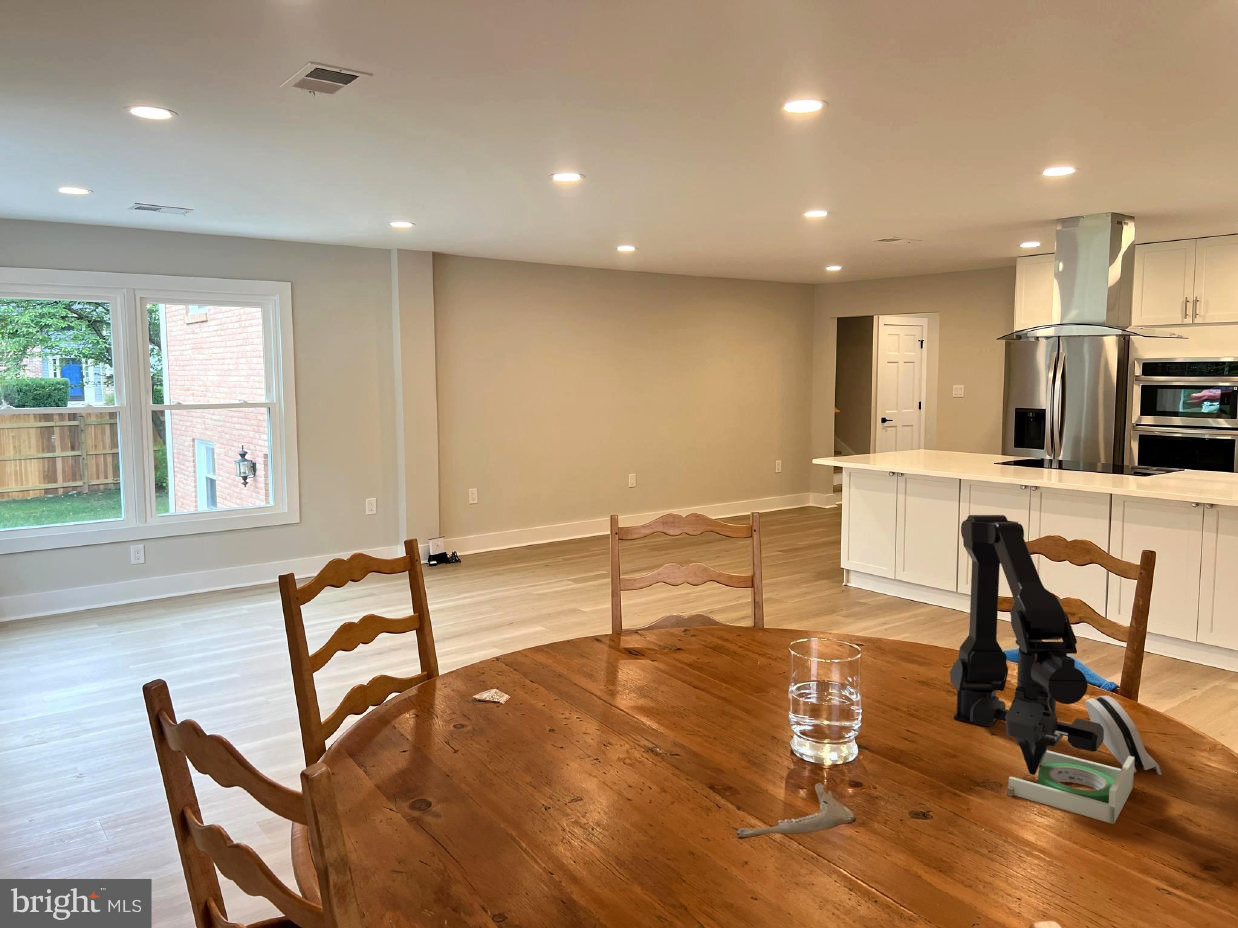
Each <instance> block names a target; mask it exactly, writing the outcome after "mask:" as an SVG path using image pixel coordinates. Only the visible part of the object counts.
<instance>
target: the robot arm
mask: <svg viewBox="0 0 1238 928" xmlns="http://www.w3.org/2000/svg"><path fill="white" fill-rule="evenodd" d="M960 533H961V534H960V535H961V537H962V540H963V543H962V544H963V547H964V549H965V551H966V553H967V554H968V555H969V557H970V559H971V579H970V583H971V584H970V602H969V603H970V605H969V606H970V607H969V610H970V611H969V628H968V629H969V632H968V636H966V638H965V640H963V642H962V643H961V645H960V646H959V651H958V658H957V659H956V661H955V662H954V664H953V666H952V667H951V669H950V671H949V678H950V684H952V686H954V688H956V691H957V692H956V694H957V695H956V696H957V697H956V713H955V714H953V719H955V720H959V721H963V722H966V723H971V724H975V725H979V726H982V727H990V726H991V725H992V724H994V723H995V722H996V720H1000V721H1003V722H1005V725H1006V726H1005V727H1006V734H1007V735H1008V736H1009V737H1011V738H1013V739H1014V740H1015V741H1016V742H1017V744H1018V746H1019V747H1020V751H1021V753H1022V755H1023V759H1024V761H1025V765H1026V767H1027V770H1028V773H1029V774H1030V775H1032V776H1036V774H1038V773H1037V772H1038V771H1039V769H1040V766H1041V765H1040V764H1041V762H1042V760H1043V757H1044V755H1045V753H1046V751H1047V750H1048V749H1049V747H1055V746H1057V745H1058V743H1059V742H1060V741H1061V740H1062V739H1063V737H1067V741H1066V742H1068V743H1069V745H1071V747H1072V748H1075V749H1079V750H1084V751H1088V752H1095V753H1096V752H1097V751H1098V750H1099V748H1100V746H1102V743H1103V741H1104V729H1103V727H1102V726H1101V724H1099V723H1095V722H1091V720H1087V719H1086V720H1085V719H1081V718H1077V717H1076V718H1075V719H1074V720H1073V721H1072V723H1066V722H1062V721H1060V720H1059V721H1058V717H1057V703H1059V704H1063V705H1071V704H1076V703H1077V702H1079V701H1081V700H1082V699H1083V698H1084V697H1085V696H1086V694H1087V691H1088V687H1089V684H1088V681H1087V678H1086V676H1085V674H1084V673H1083V672H1082V671H1081V670H1080V669H1079V668H1077V667H1076V666H1075V664H1076V661H1075V659H1074V658H1073V657H1071V656H1068V655H1071V654H1074V655H1075V654H1076V655H1077V653H1078V650H1077V643H1078V641H1077V638H1076V636H1075V632H1074V629H1073V627H1072V624H1071V622H1070V619H1069V616H1068V614H1067V612H1066V611H1065V610H1064V607H1063V606H1062V604H1061V602H1060V600H1059V599H1058V597H1057V596H1056V595H1055V594H1054V593H1052V591H1050V590H1048V589H1046V588H1045V586H1044V584H1043V582H1042V581H1041V578H1040V575H1039V572H1038V570H1037V568H1036V565H1035V563H1034V560H1033V558H1032V555H1031V553H1030V550H1029V547H1028V545H1027V543H1026V541H1025V530H1024V527H1023V525H1022V524H1021V523H1019V521H1015V520H1014V521H1013V520H1008V518H1007V516H1006V515H1004V514H969V515H968V516H967V517H966V519H964V520H963V521H962V523H961V525H960ZM1000 566H1001V568H1002V571H1003V573H1004V576H1005V578H1006V581H1007V585H1008V587H1009V590H1010V592H1011V596H1012V599H1013V602H1012V606H1011V608H1010V612H1009V614H1010V624H1011V625H1010V626H1011V629H1012V631H1013V633H1014V636H1015V638H1016V639H1015V644H1016V645H1017V646H1018V651H1017V652H1018V655H1017V657H1018V658H1017V677H1016V678H1017V679H1016V680H1017V681H1016V687H1015V692H1014V697H1013V700H1012V702H1011V704H1010V707H1009V708H1008V709H1006V703H1005V701H1002V700H1000V698H999V696H997V691H1000V692H1004V691H1005V687H1006V684H1007V680H1008V674H1009V666H1008V663H1007V659H1008V658H1007V654H1006V652H1005V651H1004V650H1003V649H1002V647H1001V646H1000V644H999V643H998V640H997V638H998V637H997V634H998V633H997V632H998V617H999V616H998V613H999V587H1000V586H999V585H1000V570H1001V569H1000ZM1059 640H1062V641H1059Z"/></svg>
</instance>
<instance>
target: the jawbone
mask: <svg viewBox="0 0 1238 928" xmlns="http://www.w3.org/2000/svg"><path fill="white" fill-rule="evenodd" d="M814 786H815V787H814V789H815V792H816V795H817V798H818V802H819V807H820V808H819V809H820V810H819V813H817V812H815V813H811V814H809V815H806V816H802V817H798V818H796V819H794V818H792V819H784V820H782V819H780V820H778V821H777V822H778V825H776V826H772V827H771V826H770V827H758V828H757V827H755V828H750V827H748V828H747V827H746V828H743V827H740V828H739V829H738V830H737V831H736V834H737V835H736V836H737V838H739V837H740V838H751V837H755V836H759V835H766V834H767V835H768V834H806V833H807V834H808V833H813V832H814V833H815V832H820V831H823V830H828V829H830V828H834V827H836V826H838V825H841V824H842V825H843V824H849V823H852V822H853V821H855V818H856V817H855V815H854V813H853V811H852V810H851V809H850V808H848V807H846V806H845V805H843V804H841V803H840V802H838V801H837V799H835V798H834V795H833V792H832V791H831V790H829V791H828V793H826V791H825V788H826V786H825V785H824V784H823V782H819V783H816V784H815V785H814Z"/></svg>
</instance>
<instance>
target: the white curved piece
mask: <svg viewBox="0 0 1238 928" xmlns="http://www.w3.org/2000/svg"><path fill="white" fill-rule="evenodd" d="M1084 704H1085V707H1086V711H1087V713H1088V716H1089V721H1091V722H1095V723H1099V724H1101V726H1102V727H1103V729H1104V741H1103V742H1102V743H1103V745H1104V746H1106V748H1107V749H1108V750H1109V751H1110V752H1111V753H1112V755H1113V756H1114V757H1115V759H1117V761H1118V762H1119V763H1120V764H1121V766H1123V765H1124V763H1125V762H1126V760H1127V758H1128V756H1132V757H1135V759H1134V773H1137V771H1138V770H1139V768H1140V769H1143V770H1144V771H1147V770H1151V769H1153V770H1154V771H1155V772H1156V774H1157V775H1162V771H1161V769H1160V765H1159V764H1158V763H1157V762H1156V761H1155V759H1154V758H1153V757H1152V756H1151V755H1150V754H1148V752H1147V751H1146V749H1145V746H1144V742H1143V740H1142V738H1141V735H1140V733H1139V730H1138V728H1137V726H1136V724H1135V723H1134V722H1133V720H1132V719H1131V717H1130V716H1129V715H1128V713H1127V711H1125V710H1124V708H1123V707H1122V706H1121V704H1120V703H1119V702H1118V701H1117V700H1116V699H1115V698H1113V697H1111V696H1110V695H1099V696H1098V697H1097V698H1093V697H1091V698H1089V699H1087V700H1085V701H1084Z"/></svg>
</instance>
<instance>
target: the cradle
mask: <svg viewBox="0 0 1238 928" xmlns="http://www.w3.org/2000/svg"><path fill="white" fill-rule="evenodd" d="M1134 759H1135V757H1132V756H1128V758H1127V760H1126V762H1125V763H1124V765H1122V767H1121V768H1119V767H1115V766H1111V765H1106V764H1103V763H1099V762H1095V761H1091V760H1087V759H1083V758H1078V757H1074V756H1071V755H1067V754H1064V753H1063V754H1062V753H1059V752H1055V751H1052V750H1048V749H1047V751H1046V753H1045V755H1044V757H1043V760H1042V762H1041V764H1040V766H1041V767H1042V766H1044V765H1047V764H1052V763H1068V764H1076V765H1081V766H1085V767H1088V768H1091V769H1094V770H1097V771H1099V772H1102V773H1104V774H1106V775H1107V776H1109V777H1111V778H1112V779H1113V780H1114V782H1113V784H1112V786H1111V788H1110V789H1109V804H1108V803H1104V802H1101V801H1097V800H1094V799H1090V798H1086V797H1083V796H1079V795H1076V794H1072V793H1069V792H1065V791H1061V790H1058V789H1054V788H1051V787H1047V786H1043V785H1040V784H1038V783H1035V782H1032V781H1028V780H1026V779H1025V780H1024V779H1021V778H1018V777H1014V776H1009V777H1008V786H1006V796H1008V797H1011V798H1012V797H1014V796H1016V797H1020V798H1023V799H1026V800H1030V801H1033V802H1037V803H1040V804H1043V805H1047V806H1050V807H1053V808H1057V809H1060V810H1063V811H1067V812H1071V813H1074V814H1078V815H1082V816H1086V817H1088V818H1092V819H1095V820H1099V821H1102V822H1105V823H1109V824H1113V825H1114V824H1115V823H1116V820H1117V819H1118V817H1119V816H1120V813H1121V811H1122V810H1123V807H1124V806H1125V803H1126V802H1127V800H1128V797H1129V796H1130V794H1131V792H1132V791H1133V788H1134V777H1135V776H1134V774H1135V772H1134Z"/></svg>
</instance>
